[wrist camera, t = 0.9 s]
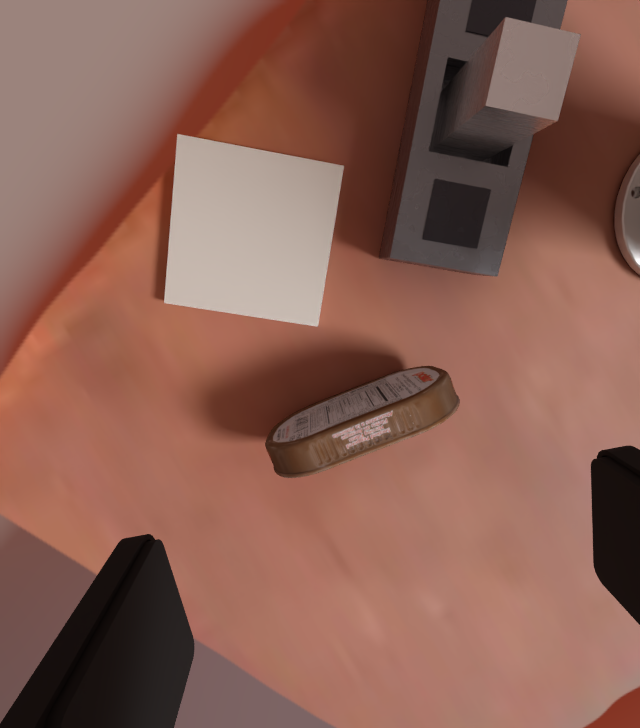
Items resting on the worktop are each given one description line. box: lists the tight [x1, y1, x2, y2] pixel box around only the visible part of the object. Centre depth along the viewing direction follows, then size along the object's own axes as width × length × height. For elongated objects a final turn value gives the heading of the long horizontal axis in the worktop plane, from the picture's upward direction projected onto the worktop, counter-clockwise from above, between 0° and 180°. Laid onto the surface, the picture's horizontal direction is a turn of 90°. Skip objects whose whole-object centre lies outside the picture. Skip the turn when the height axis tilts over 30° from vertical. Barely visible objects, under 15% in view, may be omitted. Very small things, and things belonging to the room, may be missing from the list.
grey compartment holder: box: [379, 0, 567, 276], centre depth 30 cm, size 8×20×4 cm, turn 171°
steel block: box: [429, 17, 581, 162], centre depth 26 cm, size 4×4×10 cm
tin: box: [265, 366, 460, 478], centre depth 32 cm, size 15×3×8 cm, turn 111°
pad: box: [164, 134, 344, 327], centre depth 32 cm, size 12×12×1 cm
